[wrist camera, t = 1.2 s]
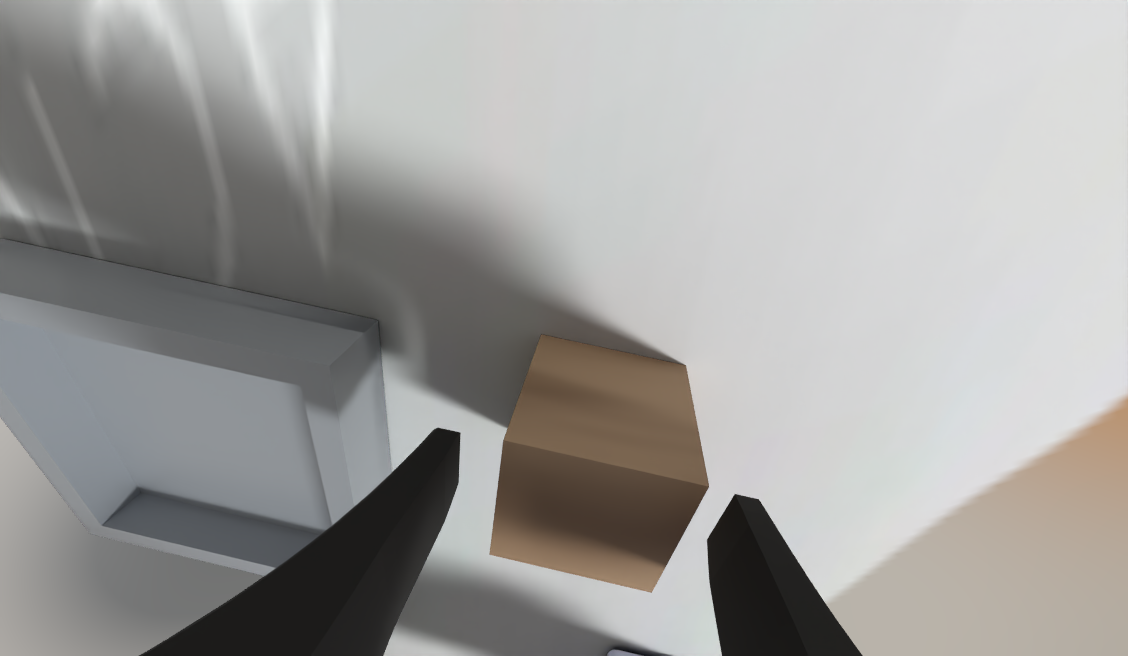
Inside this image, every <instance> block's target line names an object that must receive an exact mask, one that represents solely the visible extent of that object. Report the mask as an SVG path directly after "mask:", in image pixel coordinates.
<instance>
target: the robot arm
mask: <svg viewBox="0 0 1128 656" xmlns="http://www.w3.org/2000/svg"><path fill="white" fill-rule="evenodd" d="M459 455H460V433H459V432H455V431H450V430H446V429H441V428H436V429H434V430H433V431H432V432H431V433H430V434H429V435H428V437H427V438H426V439H425V440H424V441H423V442H422V443H421V444H420V445H419V446H418V447H417V448H416V449H415V450H414V451H413V452H412V453H411V454H410V455H409V456H408V457H407V458H406V459H405V460H404V461H403V462H402V463H401V464H400V465H399V466H398V467H397V468H396V469H395V470H394V471H393V472H392V473H391V474H390V475H389V476H388V477H387V478H386V479H385V480H383V481H382V482H381V483H380V484H379V485H378V486H377V487H376V488H375V489H374V490H373V491H372V492H371V493H369V494H368V495H367V496H366V497H365V498H364V499H363V500H361V501H360V502H359V503H358V504H357V505H356V506H354V507H353V508H352V509H351V510H350V511H349V512H347V513H346V514H345V515H344V516H343V517H342V518H340V519H339V520H338V521H337V522H336V523H334V524H333V525H332V526H331V527H330V528H328V529H327V530H326V531H325V532H323V533H322V534H321V535H320V536H318V537H317V538H316V539H314V540H313V541H312V542H311V543H309V544H308V545H307V546H305V547H304V548H303V549H301V550H300V551H299V552H297V553H296V554H295V555H293V556H292V557H291V558H289V559H288V560H287V561H285V562H284V563H282V564H281V565H280V566H278V567H277V568H275V569H274V570H272V571H271V572H270V573H268V574H267V575H265V576H264V577H263V578H261V579H260V580H258V581H257V582H255V583H254V584H253V585H251V586H250V587H248V588H247V589H245V590H244V591H242V592H241V593H239V594H238V595H237V596H235V597H233V598H232V599H230V600H229V601H227V602H226V603H224V604H223V605H221V606H219V607H218V608H216V609H215V610H213V611H211V612H210V613H208V614H207V615H205V616H203V617H202V618H200V619H199V620H197V621H195V622H194V623H192V624H191V625H189V626H187V627H186V628H185V629H183V630H181V631H180V632H178V633H176V634H175V635H173V636H171V637H170V638H169V639H167V640H165V641H163V642H162V643H160V644H158V645H157V646H155V647H153V648H152V649H150V650H148V651H147V652H145V653H143V654H141V655H139V656H383V655H384V652H385V650H386V647H387V645H388V642H389V639H390V637H391V634H392V632H393V629H394V627H395V625H396V623H397V620H398V618H399V616H400V614H401V611H402V609H403V607H404V605H405V603H406V601H407V599H408V597H409V595H410V593H411V590H412V588H413V586H414V584H415V582H416V580H417V578H418V576H419V574H420V572H421V570H422V568H423V566H424V564H425V561H426V559H427V557H428V555H429V553H430V551H431V549H432V547H433V545H434V543H435V541H436V539H437V536H438V534H439V532H440V530H441V528H442V526H443V524H444V522H445V519H446V516H447V514H448V511H449V508H450V505H451V503H452V500H453V497H454V494H455V491H456V489H457V486H458V482H459ZM707 546H708V566H709V580H710V588H711V594H712V600H713V606H714V612H715V618H716V624H717V629H718V635H719V641H720V646H721V652H722V656H862V654H861V653H860V652H859V650H858V649H857V647H856V646H855V645H854V643H853V642H852V641H851V639H850V638H849V636H848V635H847V634H846V632H845V631H844V629H843V628H842V627H841V625H840V624H839V623H838V621H837V620H836V618H835V617H834V615H833V614H832V612H831V611H830V609H829V608H828V607H827V605H826V604H825V602H824V601H823V599H822V598H821V596H820V595H819V593H818V592H817V590H816V589H815V587H814V586H813V584H812V583H811V581H810V580H809V578H808V577H807V575H806V573H805V572H804V570H803V569H802V567H801V566H800V564H799V563H798V561H797V559H796V558H795V556H794V555H793V553H792V552H791V550H790V548H789V547H788V545H787V544H786V542H785V540H784V539H783V537H782V536H781V534H780V532H779V531H778V529H777V528H776V526H775V524H774V523H773V521H772V520H771V518H770V516H769V515H768V513H767V512H766V510H765V508H764V507H763V505H762V504H761V502H760V500H759V499H755V498H750V497H746V496H741V495H737V494H735V495H734V496H733V498H732V500H731V501H730V503H729V505H728V506H727V508H726V510H725V511H724V513H723V515H722V516H721V518H720V519H719V521H718V523H717V524H716V526H715V528H714V529H713V531H712V533H711V534H710V536H709V538H708V539H707ZM607 656H642V655H637V654H633V653H629V652H625V651H621V650H611V651H610V652H608V654H607Z"/></svg>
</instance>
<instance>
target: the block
mask: <svg viewBox="0 0 1128 656" xmlns="http://www.w3.org/2000/svg"><path fill="white" fill-rule="evenodd" d="M708 488H709V483H708V478H707V473H706V468H705V463H704V457H703V452H702V447H701V442H700V437H699V431H698V426H697V421H696V416H695V411H694V405H693V400H692V395H691V390H690V385H689V379H688V374H687V369H686V365H682V364H677V363H672V362H668V361H663V360H658V359H654V358H649V357H644V356H640V355H635V354H631V353H626V352H621V351H617V350H612V349H607V348H603V347H598V346H593V345H589V344H584V343H579V342H575V341H570V340H566V339H561V338H556V337H552V336H547V335H542V334H541V336H540V339H539V342H538V345H537V348H536V350H535V353H534V356H533V359H532V362H531V364H530V367H529V370H528V373H527V376H526V378H525V381H524V384H523V387H522V390H521V392H520V395H519V398H518V401H517V404H516V406H515V409H514V412H513V415H512V418H511V420H510V423H509V426H508V429H507V432H506V434H505V437H504V440H503V448H502V456H501V465H500V473H499V481H498V489H497V498H496V506H495V514H494V522H493V531H492V539H491V547H490V555H494V556H498V557H502V558H507V559H511V560H515V561H519V562H524V563H528V564H532V565H536V566H541V567H545V568H549V569H553V570H558V571H562V572H566V573H570V574H575V575H579V576H583V577H587V578H592V579H596V580H600V581H604V582H609V583H613V584H617V585H621V586H626V587H630V588H634V589H638V590H643V591H647V592H651V593H652V591H653V589H654V587H655V585H656V584H657V582H658V580H659V578H660V576H661V574H662V573H663V571H664V569H665V567H666V565H667V563H668V561H669V560H670V558H671V556H672V554H673V552H674V550H675V549H676V547H677V545H678V543H679V541H680V539H681V537H682V536H683V534H684V532H685V530H686V528H687V526H688V525H689V523H690V521H691V519H692V517H693V515H694V513H695V512H696V510H697V508H698V506H699V504H700V502H701V500H702V499H703V497H704V495H705V493H706V491H707V489H708Z"/></svg>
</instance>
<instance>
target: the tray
mask: <svg viewBox="0 0 1128 656" xmlns="http://www.w3.org/2000/svg"><path fill="white" fill-rule="evenodd" d="M0 417H1V419H2V420H3V421H4V422H5V424H6V425H7V427H8V428H9V429H10V430H11V432H12V433H13V434H14V436H15V437H16V438H17V440H18V441H19V442H20V443H21V445H22V446H23V447H24V449H25V450H26V451H27V452H28V454H29V455H30V456H31V458H32V459H33V460H34V461H35V463H36V464H37V465H38V467H39V468H40V469H41V471H42V472H43V473H44V475H45V476H46V477H47V479H48V480H49V481H50V482H51V484H52V485H53V486H54V488H55V489H56V490H57V492H58V493H59V494H60V495H61V497H62V498H63V499H64V501H65V502H66V503H67V505H68V506H69V507H70V509H71V510H72V511H73V512H74V514H75V515H76V516H77V518H78V519H79V520H80V522H81V523H82V524H83V525H84V527H85V528H86V529H87V531H88V532H89V533H90V534H92V535H96V536H101V537H105V538H109V539H113V540H117V541H121V542H125V543H130V544H134V545H138V546H142V547H147V548H150V549H154V550H158V551H163V552H167V553H171V554H175V555H179V556H184V557H187V558H191V559H196V560H200V561H204V562H208V563H212V564H216V565H220V566H225V567H229V568H233V569H237V570H241V571H245V572H249V573H253V574H258V575H262V576H265V575H267V574H268V573H270V572H271V571H272V570H274V569H275V568H277V567H278V566H280V565H281V564H282V563H284V562H285V561H287V560H288V559H289V558H291V557H292V556H293V555H295V554H296V553H297V552H299V551H300V550H301V549H303V548H304V547H305V546H307V545H308V544H309V543H311V542H312V541H313V540H314V539H316V538H317V537H318V536H320V535H321V534H322V533H323V532H325V531H326V530H327V529H328V528H330V527H331V526H332V525H333V524H334V523H336V522H337V521H338V520H339V519H340V518H342V517H343V516H344V515H345V514H346V513H347V512H349V511H350V510H351V509H352V508H353V507H354V506H356V505H357V504H358V503H359V502H360V501H361V500H363V499H364V498H365V497H366V496H367V495H368V494H369V493H371V492H372V491H373V490H374V489H375V488H376V487H377V486H378V485H379V484H380V483H381V482H382V481H383V480H385V479H386V478H387V477H388V476H389V475H390V474H391V473H392V471H391V459H390V448H389V437H388V426H387V415H386V404H385V393H384V381H383V370H382V359H381V348H380V337H379V326H378V320H375V319H371V318H366V317H361V316H357V315H352V314H347V313H343V312H338V311H334V310H329V309H324V308H320V307H315V306H311V305H306V304H301V303H297V302H292V301H288V300H283V299H278V298H274V297H269V296H264V295H260V294H255V293H251V292H246V291H241V290H237V289H232V288H228V287H223V286H218V285H214V284H209V283H205V282H200V281H195V280H191V279H186V278H182V277H177V276H172V275H168V274H163V273H158V272H154V271H149V270H145V269H140V268H135V267H131V266H126V265H122V264H117V263H112V262H108V261H103V260H99V259H94V258H89V257H85V256H80V255H75V254H71V253H66V252H62V251H57V250H52V249H48V248H43V247H39V246H34V245H29V244H25V243H20V242H16V241H11V240H6V239H2V238H0Z"/></svg>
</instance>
